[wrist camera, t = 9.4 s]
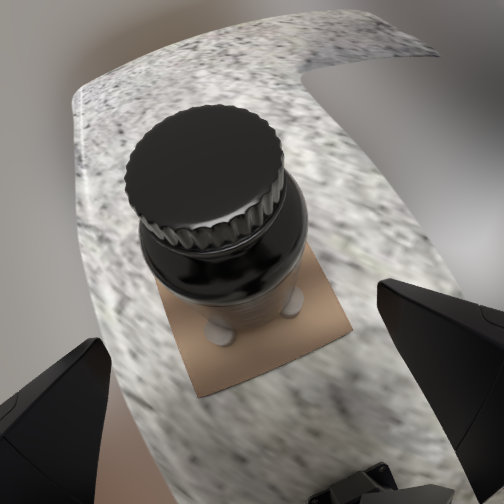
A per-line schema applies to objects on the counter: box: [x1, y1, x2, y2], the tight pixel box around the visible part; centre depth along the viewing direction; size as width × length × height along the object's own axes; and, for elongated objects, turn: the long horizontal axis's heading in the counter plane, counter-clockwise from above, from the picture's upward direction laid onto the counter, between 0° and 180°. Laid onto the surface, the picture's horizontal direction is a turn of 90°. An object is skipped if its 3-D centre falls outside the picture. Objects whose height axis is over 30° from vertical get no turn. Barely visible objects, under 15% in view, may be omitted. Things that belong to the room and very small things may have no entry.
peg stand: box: [154, 241, 353, 398], centre depth 21 cm, size 12×12×4 cm
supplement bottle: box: [124, 104, 308, 331], centre depth 14 cm, size 7×7×12 cm
